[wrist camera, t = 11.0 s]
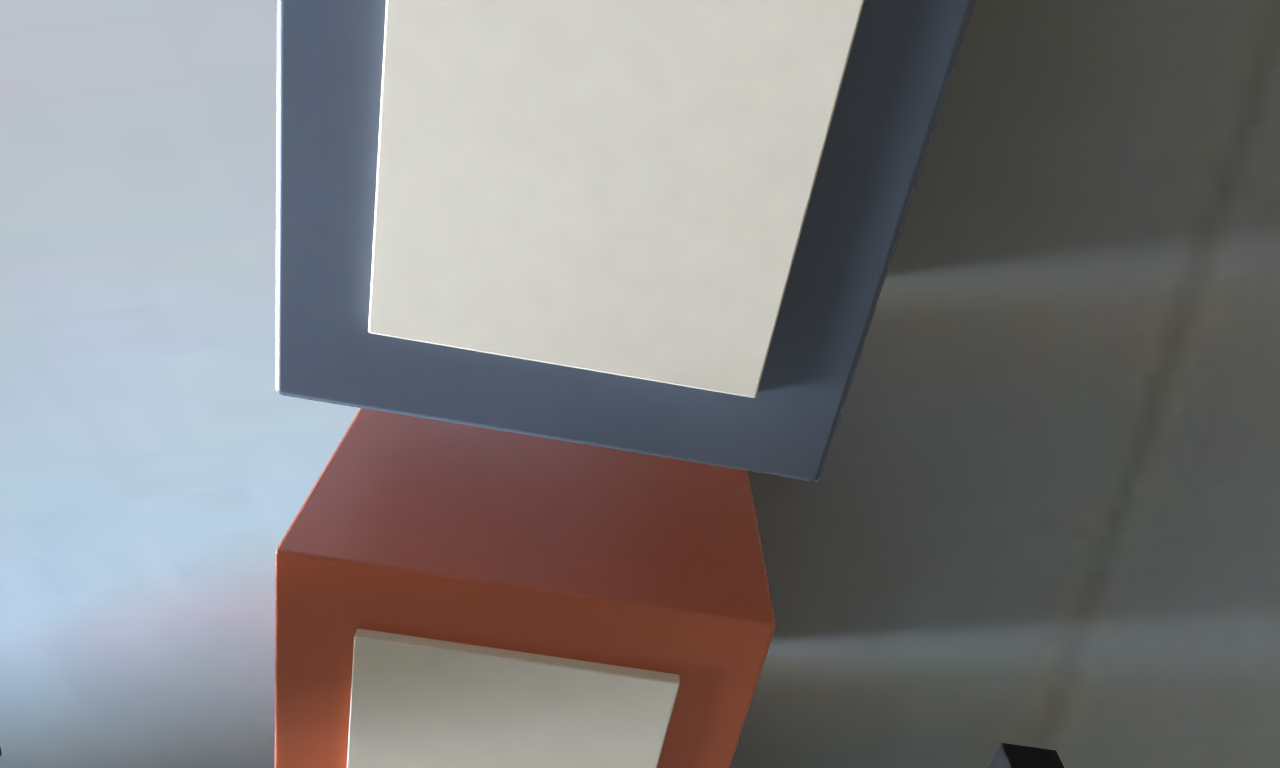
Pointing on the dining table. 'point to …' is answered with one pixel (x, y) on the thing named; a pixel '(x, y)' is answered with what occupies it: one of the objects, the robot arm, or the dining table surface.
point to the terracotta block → (515, 605)
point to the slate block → (599, 211)
